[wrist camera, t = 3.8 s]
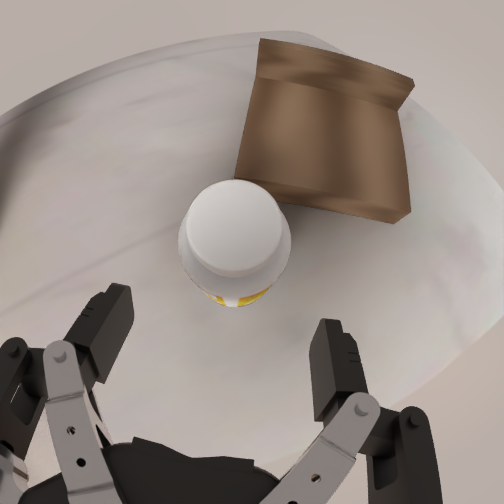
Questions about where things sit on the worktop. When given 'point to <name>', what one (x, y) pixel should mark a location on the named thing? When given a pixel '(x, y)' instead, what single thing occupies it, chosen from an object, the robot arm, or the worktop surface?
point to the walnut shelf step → (326, 132)
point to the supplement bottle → (234, 242)
